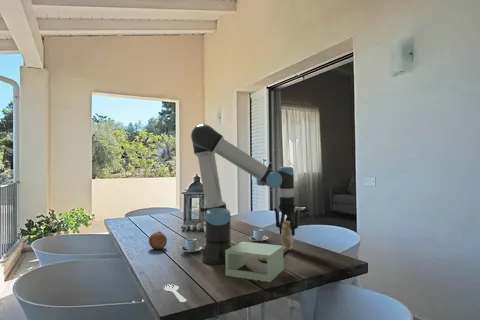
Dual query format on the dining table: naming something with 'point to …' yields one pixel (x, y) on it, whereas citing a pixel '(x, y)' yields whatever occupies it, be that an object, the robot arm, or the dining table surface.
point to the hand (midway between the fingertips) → (287, 241)
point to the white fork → (175, 292)
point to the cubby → (239, 251)
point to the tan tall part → (284, 238)
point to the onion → (157, 240)
